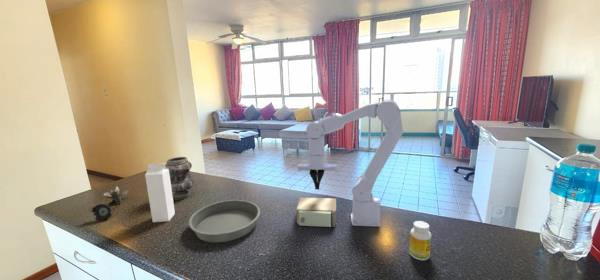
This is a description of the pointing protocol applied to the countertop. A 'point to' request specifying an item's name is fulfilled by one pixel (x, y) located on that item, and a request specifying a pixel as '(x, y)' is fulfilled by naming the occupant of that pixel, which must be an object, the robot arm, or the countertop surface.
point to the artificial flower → (105, 210)
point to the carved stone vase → (180, 177)
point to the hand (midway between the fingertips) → (317, 188)
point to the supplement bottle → (420, 241)
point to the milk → (159, 192)
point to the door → (316, 218)
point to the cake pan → (224, 220)
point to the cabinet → (317, 205)
